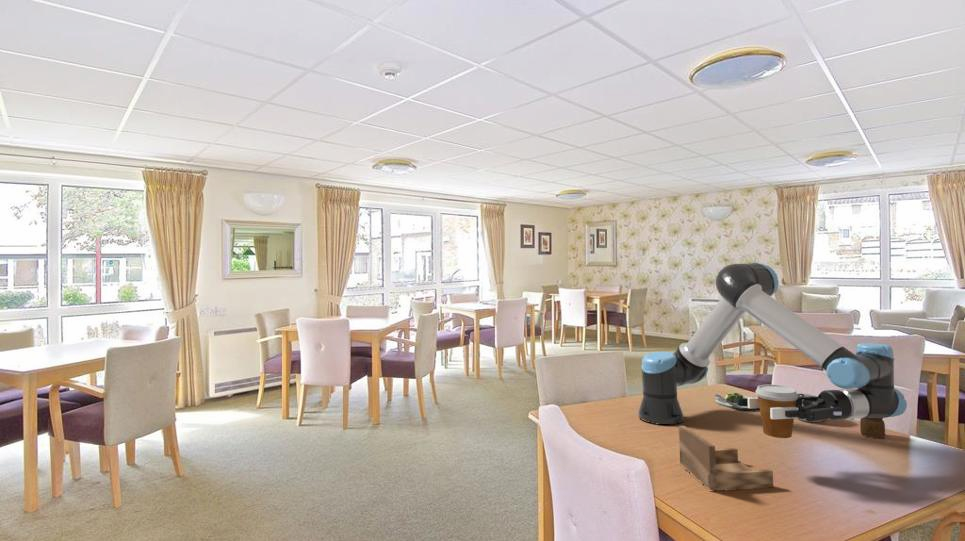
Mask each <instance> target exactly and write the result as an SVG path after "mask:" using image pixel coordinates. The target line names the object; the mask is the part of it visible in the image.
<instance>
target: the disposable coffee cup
mask: <svg viewBox="0 0 965 541" xmlns="http://www.w3.org/2000/svg"><path fill="white" fill-rule="evenodd" d="M754 392H755V394H756V396H757V398H758V402H759V407H760V410H759V413H760V419H761V425H762V431H763V434H765V435H766V436H769V437H772V438H777V439H790V438H792V436H793V435H792V434H793V428H794V420H795V418H791V419H771V418H770V408H777V407H795V405H796V400H797V398H798V395H797V394H798V393H797V391H796V389H795V388H793V387H790V386H785V385H780V384H761V385H757V388H756V390H755V391H754Z"/></svg>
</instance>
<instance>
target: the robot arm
mask: <svg viewBox="0 0 965 541" xmlns="http://www.w3.org/2000/svg"><path fill="white" fill-rule="evenodd" d="M715 286H716V287H715V288H716V290H717V292H718V294H719V295H720V296H721V298H720V299H719V300H718V301H717V303H716V305H715V306H714V307H713V308H712V310H711V311H710V312H709V314H708V315H706V318H705V319H704V321H703V322H702V323H701V324H700V326H699V327H698V329H697V330H696V331H695V333H693V335H692V336H691V338H690V339H689V340H688V342H682V343H681V344H679V346H678V348H676V350H675V352H670V351H653V352H649V353H646V354H645V355H644V356H643V357H642V359H641V377H642V378H641V379H642V398H641V403H640V405H639V409H638V418H639V417H640V418H642V419H644V420H646V421H649V422H653V423H658V424H675V425H678V424H677V423H679V424H682V423H683V422H684V413H683V410H682V407H681V405H680V402H679V399H678V387H681V386H686V385H689V384H690V385H691V384H696V383H698V382H700V381H702V380H703V379H705V378H706V377H707V375H708V373H709V372H708V370H709V368H708V367H709V365H710V363H711V361H710V359H709V358H710V357H711V356H712V354H713V353H714V352H715V350H717V348H718V347H719V346H720V344H721V343H722V342H723V340H725V338H726V337H727V336H728V334H729V333H730V332H731V331H732V329H734V327H735V326H736V325H737V323H738V322H739V321H740V319H741V318H742V317H743V316H744V315H745V314H746V313H748V314H749V315H750V316H751V317H753V318H755V319H756V320H757V321H758V322H760V323H761V324H762V325H764V326H765V327H767V328H768V330H769V329H770V330H771V331H772V332H773V333H774V334H776V335H777V336H779V337H780V338H781V339H783V340H784V341H785V342H786V343H788V344H790V345H791V346H792V347H793V348H795V349H796V350H798V352H800V353H801V354H803V356H805V357H807V358H808V359H810V360H811V361H813V363H815V364H817V365H818V366H819V367H820V368H822V369H823V370H825V372H826V376H827V377H828V379H829V381H830V382H831V384H833V385H834V386H836V387H837V388H839V389H828V390H827V389H826V390H822V391H821V392H819V394H817V395H818V397H816V396H809V397H805V396H804V394H799V393H797V395H798V398H797V400H796V405H795V407H777V408H770V418H771V419H791V418H794V419H798V418H799V419H805V418H806V420H807V421H817V420H822V421H824V420H832V421H835V420H836V421H838V420H847V419H848V420H850V421H854V420H855V419H861V418H881V417H882V418H883V419H887V418H891V417H892V418H893V417H899V416H901V415H903V414H904V413H905V412H906V410H907V407H908V404H907V403H908V402H907V400H906V399H905V396H904V394H903V393H902V391H900V390H899V389H896V388H895V370H894V369H895V365H894V364H895V357H894V349H893V347H892V346H891V345H888V344H886V343H885V344H884V343H876V342H860V343H858V344H857V345H856V351H855V353H854V352H852V351H851V350H849V349H848V348H846V347H844V346H843V345H842V344H840V343H839V342H838V341H836V340H835V339H833V338H832V337H830V336H829V335H827V334H826V333H824V332H823V331H822V330H820V329H819V328H817V327H816V326H814V325H813V324H812V323H810V322H808V321H807V320H805V319H804V318H803V317H802V316H800V315H799V314H797V313H795V312H794V311H792V310H791V309H789V308H788V307H787V306H785V305H784V304H783V303H781V302H779V301H778V300H776V299H775V298H774V297H773V295H774V294H776V292H777V290H778V287H779V278H778V274H777V273H776V271H775V270H774V269H773V268H772V267H771V266H769V265H767V264H764V263H759V262H750V263H732V264H729V265H726V266H724V267H723V268H721V269H720V271H718V273H717V276H716V278H715ZM802 404H803V406H802ZM748 408H749V409H753V408H760V407H759V402H758V397H757V398H748ZM797 408H798V410H797ZM812 416H813V417H812ZM797 417H798V418H797ZM640 418H639V419H640ZM799 419H798V420H799ZM682 421H683V422H682ZM681 422H682V423H681ZM658 424H657V425H658Z"/></svg>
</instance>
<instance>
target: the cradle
mask: <svg viewBox="0 0 965 541" xmlns="http://www.w3.org/2000/svg"><path fill="white" fill-rule="evenodd" d="M678 439H679V440H678V441H679V465H680V464H681V465H682V466H683V467H684V468H686V469H687V470H688V471H689V472H691V473H692V474H693V475H694V476H695V477H696V478H697V479H698V480H700V481H701V482H702V483H703V484H704V485H705V486H706V487H708V488H709V489H710V490H725V489H727V490H725V491H730V490H729V489H733V490H732V491H737V490H736V489H740V490H751V489H752V490H753V489H754V488H756V489H770V488H769V487H771V488H774V471H773V470H772V469H770V468H769V469H768V468H767V469H756V470H754V469H752V468H751V467H749V466H748V465H746V464H745V463H743V462H741V461H740V460H739V454H738V453H739V452H738V451H739V450H738V448H736V447H732V448H731V447H729V448H716V445H715V444H713V443H711V442H710V441H708V440H706V438H704V437H702V436H701V435H700V434H698V433H696V432H695V431H693V430H691V429H690V428H688V427H687V426H685V425H678ZM698 480H697V481H698ZM704 485H703V486H704ZM705 486H704V487H705ZM706 487H705V488H706Z"/></svg>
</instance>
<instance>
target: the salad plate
mask: <svg viewBox="0 0 965 541" xmlns="http://www.w3.org/2000/svg"><path fill="white" fill-rule="evenodd" d="M725 394H726V395H724V396H721V395H720V394H714V397H715V401H716V403H717V404H720V405H721V406H723V405H724V407H727V408H730V409H732V410H733V409H734V410H738V411H742V412H757V411H758V412H760V408H753V409H749V408H748V398H758V396H757V397H755V396H753V397H751V396H748V395H742V394H741V393H738V392H732V393H728V392H726V393H725Z"/></svg>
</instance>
